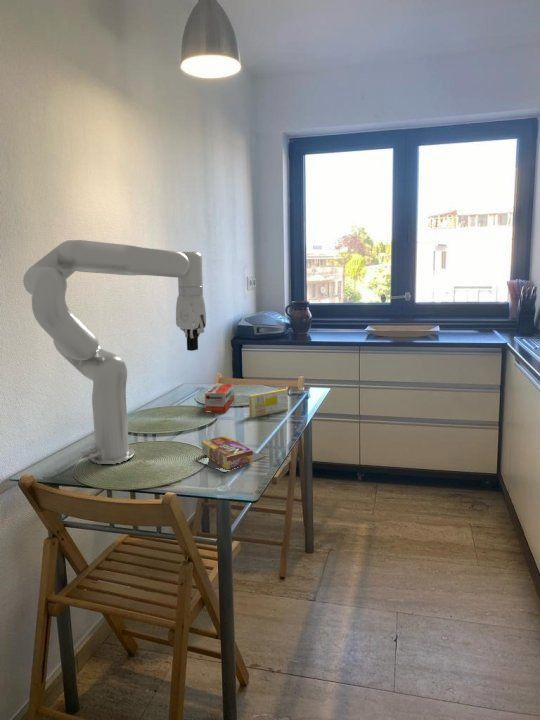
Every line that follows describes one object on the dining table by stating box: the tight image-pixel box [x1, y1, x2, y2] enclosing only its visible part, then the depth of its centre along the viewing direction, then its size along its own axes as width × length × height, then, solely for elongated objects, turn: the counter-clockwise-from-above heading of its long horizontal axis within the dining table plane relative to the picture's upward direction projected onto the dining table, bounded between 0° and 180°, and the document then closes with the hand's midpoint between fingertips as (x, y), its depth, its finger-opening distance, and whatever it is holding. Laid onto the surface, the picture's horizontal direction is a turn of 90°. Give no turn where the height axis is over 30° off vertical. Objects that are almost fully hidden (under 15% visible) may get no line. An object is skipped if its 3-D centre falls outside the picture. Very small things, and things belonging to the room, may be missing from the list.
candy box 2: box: [248, 388, 289, 418], centre depth 203 cm, size 16×2×8 cm, turn 122°
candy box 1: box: [201, 435, 254, 470], centre depth 160 cm, size 9×4×15 cm
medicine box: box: [204, 383, 235, 414], centre depth 211 cm, size 15×8×8 cm, turn 171°
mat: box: [207, 451, 266, 471], centre depth 161 cm, size 16×12×1 cm
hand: (192, 349), depth 173 cm, fingers closed
